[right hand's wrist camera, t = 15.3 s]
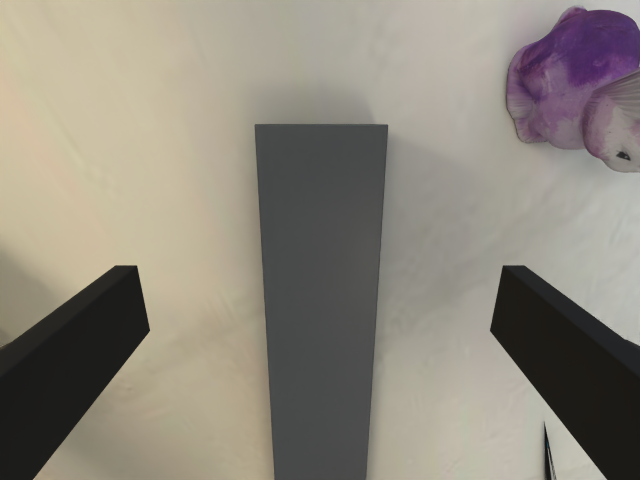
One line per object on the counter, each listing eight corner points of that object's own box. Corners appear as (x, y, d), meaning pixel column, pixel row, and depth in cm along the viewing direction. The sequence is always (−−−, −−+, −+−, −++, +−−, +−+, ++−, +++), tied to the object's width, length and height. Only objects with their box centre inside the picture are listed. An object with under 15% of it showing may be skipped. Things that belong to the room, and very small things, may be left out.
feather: (531, 345, 42) (548, 351, 40) (552, 507, 49) (567, 518, 48) (523, 352, 41) (540, 359, 39) (545, 516, 49) (560, 527, 47)
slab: (267, 124, 33) (254, 124, 26) (375, 124, 33) (388, 124, 26) (286, 543, 52) (281, 600, 46) (354, 544, 52) (358, 601, 46)
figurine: (539, 169, 34) (698, 203, 20) (474, 92, 31) (599, 66, 17) (625, 93, 31) (875, 69, 17) (561, 4, 29) (787, -108, 15)
